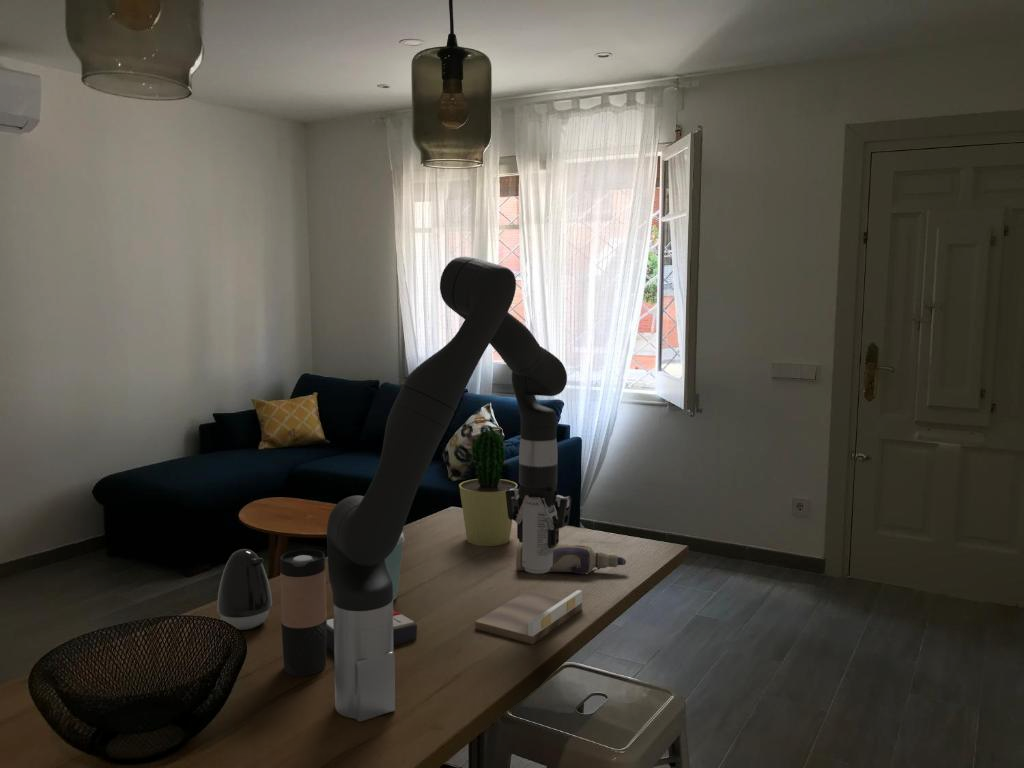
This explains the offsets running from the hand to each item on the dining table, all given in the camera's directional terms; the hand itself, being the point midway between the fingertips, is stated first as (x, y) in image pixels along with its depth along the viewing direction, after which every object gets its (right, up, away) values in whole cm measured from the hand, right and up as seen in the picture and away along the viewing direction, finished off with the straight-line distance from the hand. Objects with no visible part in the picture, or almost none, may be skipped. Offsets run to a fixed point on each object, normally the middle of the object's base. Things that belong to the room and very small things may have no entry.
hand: (537, 544), depth 161 cm
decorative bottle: (+8, -13, +30) cm, 34 cm away
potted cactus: (-11, -10, +55) cm, 57 cm away
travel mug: (-41, -18, -19) cm, 49 cm away
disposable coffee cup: (-33, -14, +13) cm, 39 cm away
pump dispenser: (-57, -16, -1) cm, 60 cm away
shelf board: (-1, -16, +3) cm, 16 cm away
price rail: (+4, -15, -1) cm, 15 cm away
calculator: (-32, -17, -7) cm, 37 cm away
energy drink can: (0, -5, +1) cm, 5 cm away
